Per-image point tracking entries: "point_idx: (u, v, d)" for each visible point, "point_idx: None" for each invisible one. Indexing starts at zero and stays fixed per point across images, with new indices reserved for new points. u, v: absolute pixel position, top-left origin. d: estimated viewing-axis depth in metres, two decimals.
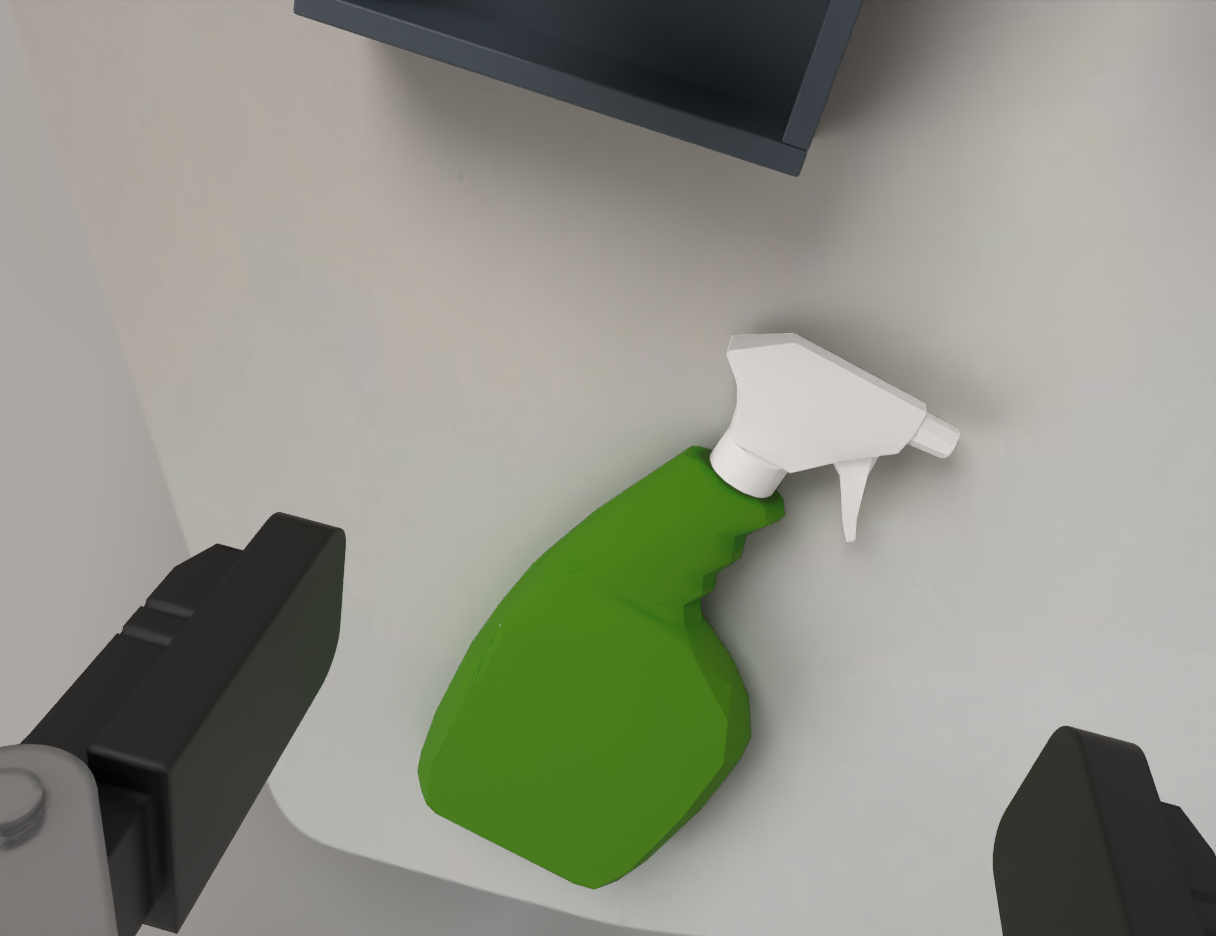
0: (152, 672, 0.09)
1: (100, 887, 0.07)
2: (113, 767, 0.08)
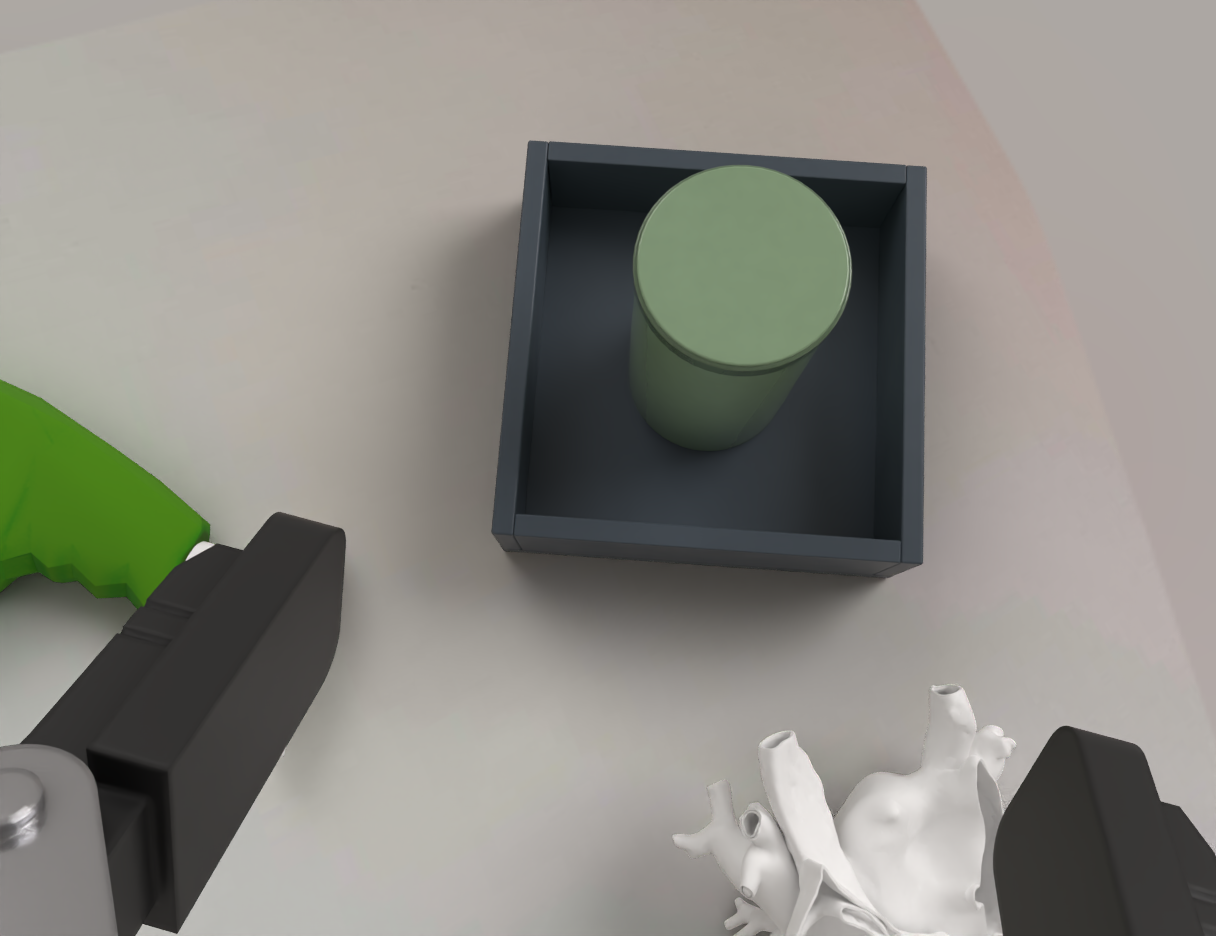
0: (152, 672, 0.09)
1: (100, 887, 0.07)
2: (113, 767, 0.08)
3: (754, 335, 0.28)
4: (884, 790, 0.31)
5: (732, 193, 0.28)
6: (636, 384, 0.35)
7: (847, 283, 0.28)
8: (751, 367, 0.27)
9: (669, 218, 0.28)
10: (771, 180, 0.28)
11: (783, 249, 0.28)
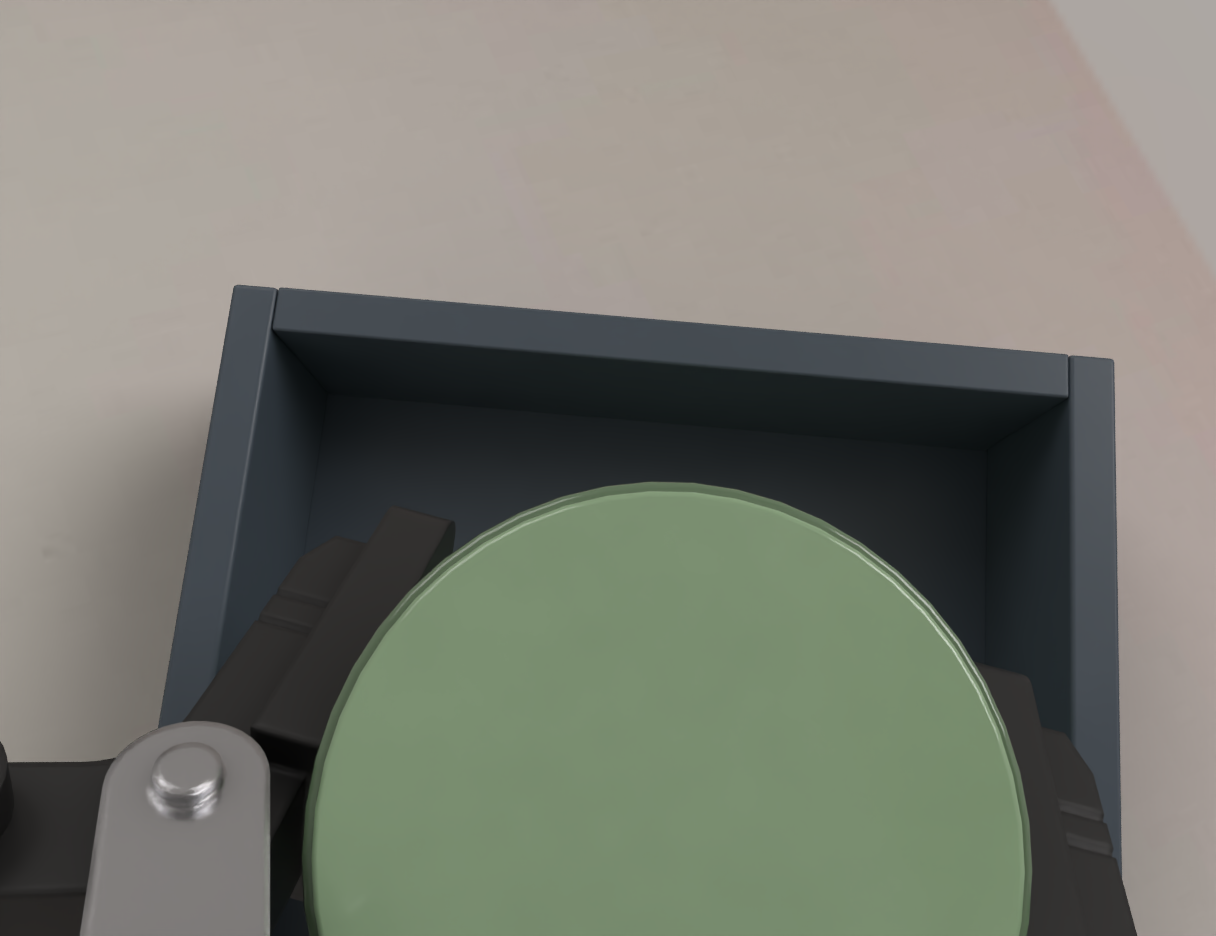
0: (300, 656, 0.10)
1: (260, 871, 0.08)
2: (274, 745, 0.09)
3: None
4: None
5: (643, 581, 0.09)
6: None
7: (1019, 917, 0.08)
8: None
9: (430, 672, 0.09)
10: (768, 536, 0.09)
11: (805, 790, 0.08)
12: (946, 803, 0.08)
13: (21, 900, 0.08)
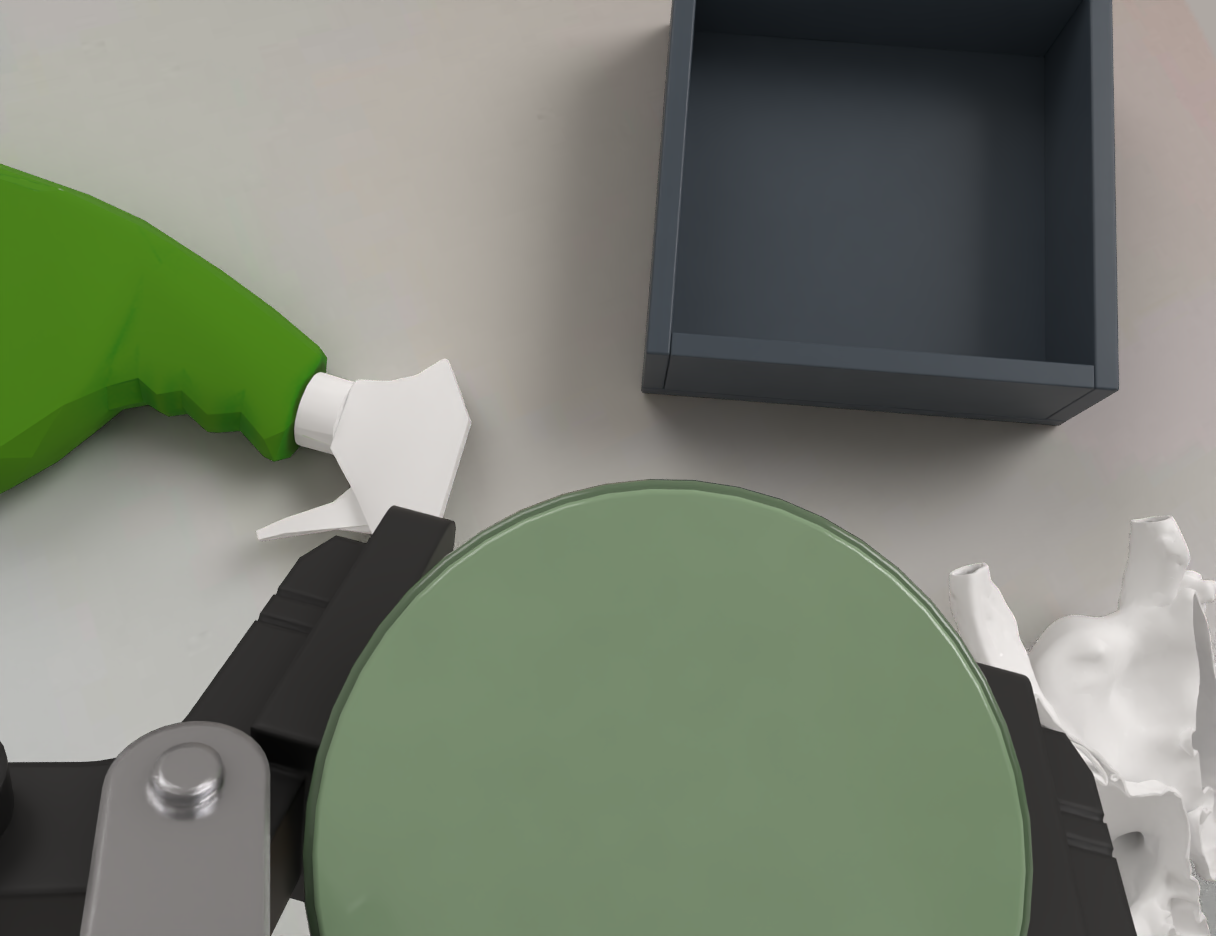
0: (300, 656, 0.10)
1: (260, 871, 0.08)
2: (274, 744, 0.09)
3: None
4: (1084, 629, 0.28)
5: (643, 579, 0.09)
6: None
7: (1020, 915, 0.08)
8: None
9: (431, 670, 0.09)
10: (769, 534, 0.09)
11: (806, 788, 0.08)
12: (947, 801, 0.08)
13: (21, 900, 0.08)
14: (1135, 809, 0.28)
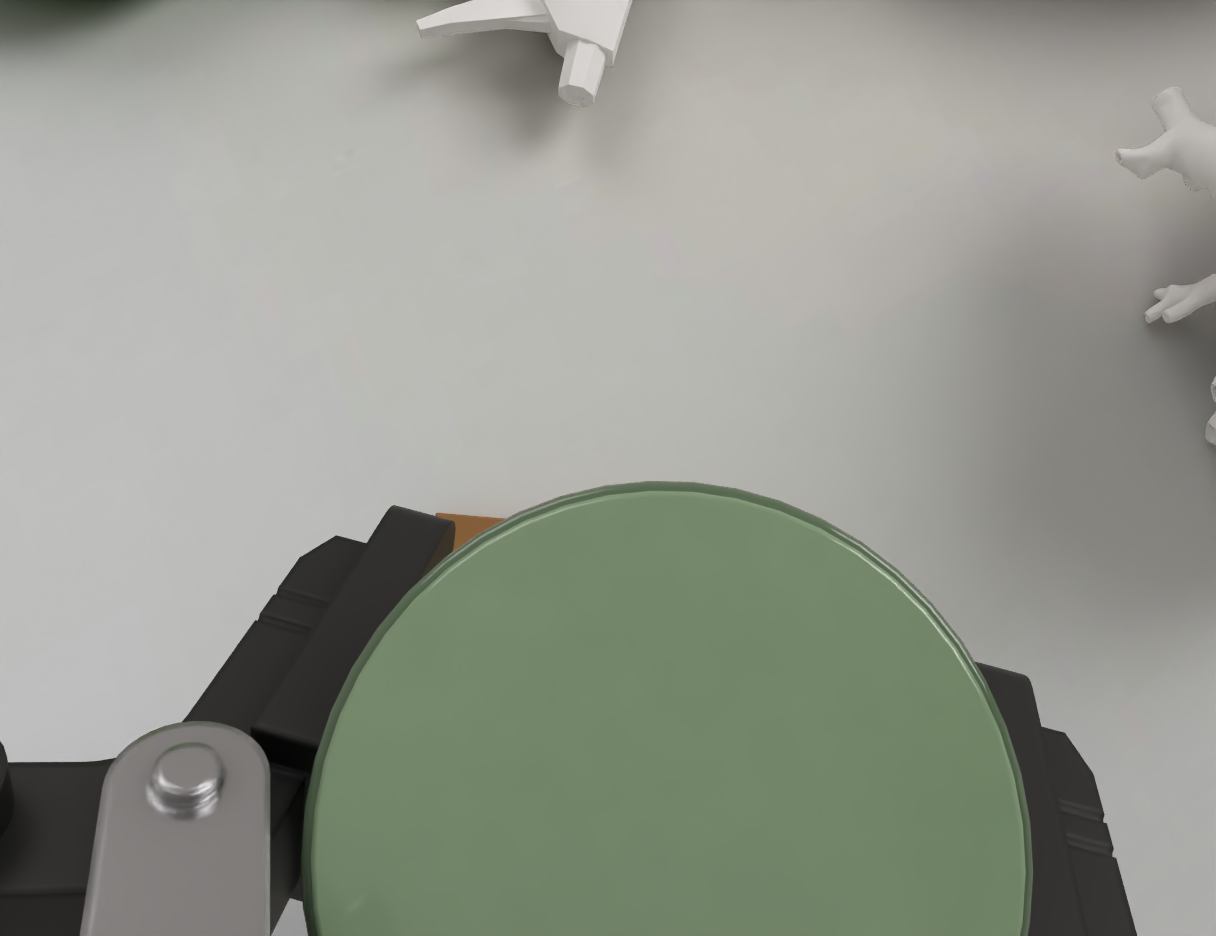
0: (300, 656, 0.10)
1: (260, 871, 0.08)
2: (274, 744, 0.09)
3: None
4: None
5: (643, 581, 0.09)
6: None
7: (1020, 918, 0.08)
8: None
9: (430, 672, 0.09)
10: (768, 536, 0.09)
11: (805, 791, 0.08)
12: (947, 803, 0.08)
13: (21, 900, 0.08)
14: None
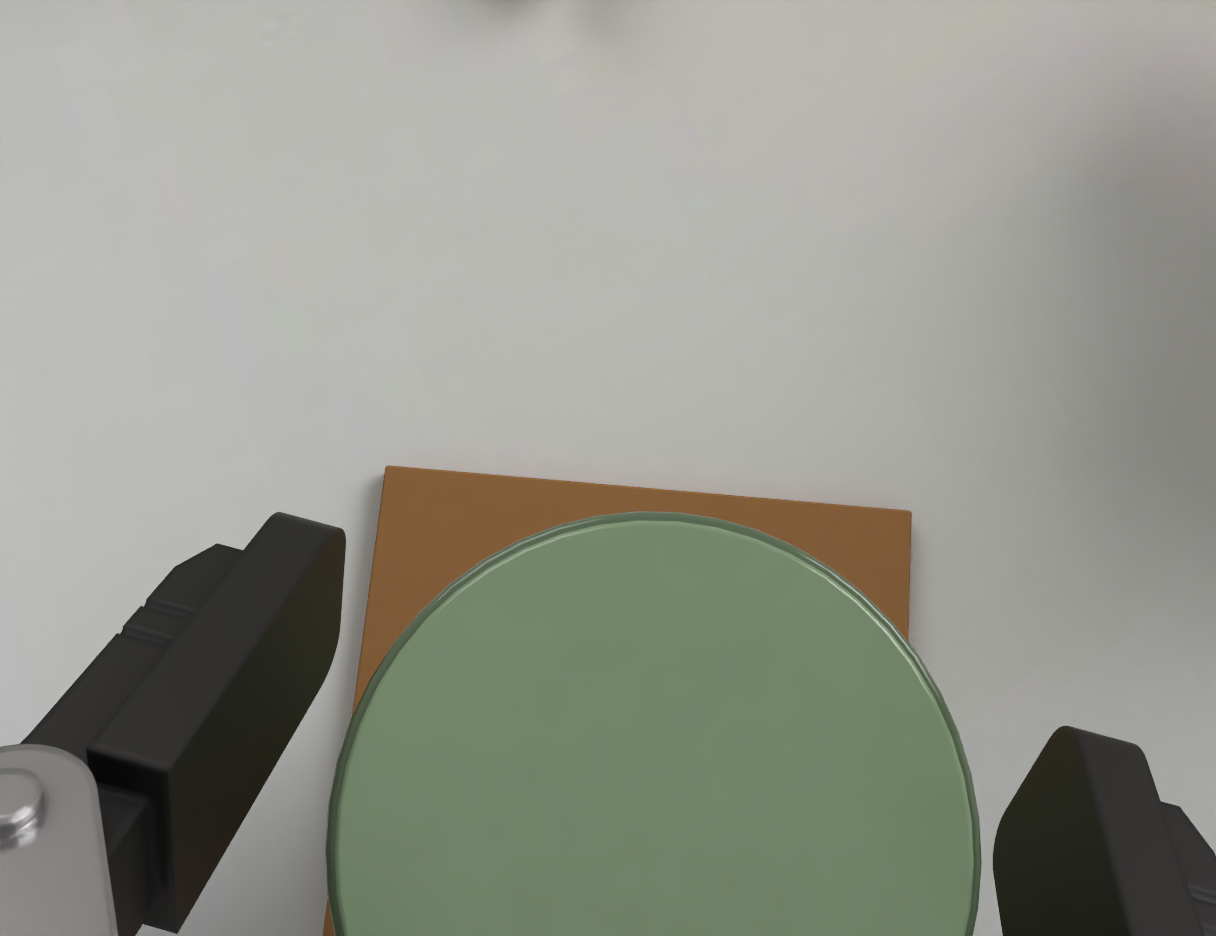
0: (152, 672, 0.09)
1: (99, 887, 0.07)
2: (113, 767, 0.08)
3: None
4: None
5: (631, 603, 0.10)
6: None
7: (969, 904, 0.09)
8: None
9: (441, 684, 0.09)
10: (744, 561, 0.10)
11: (777, 791, 0.09)
12: (903, 802, 0.09)
13: None
14: None
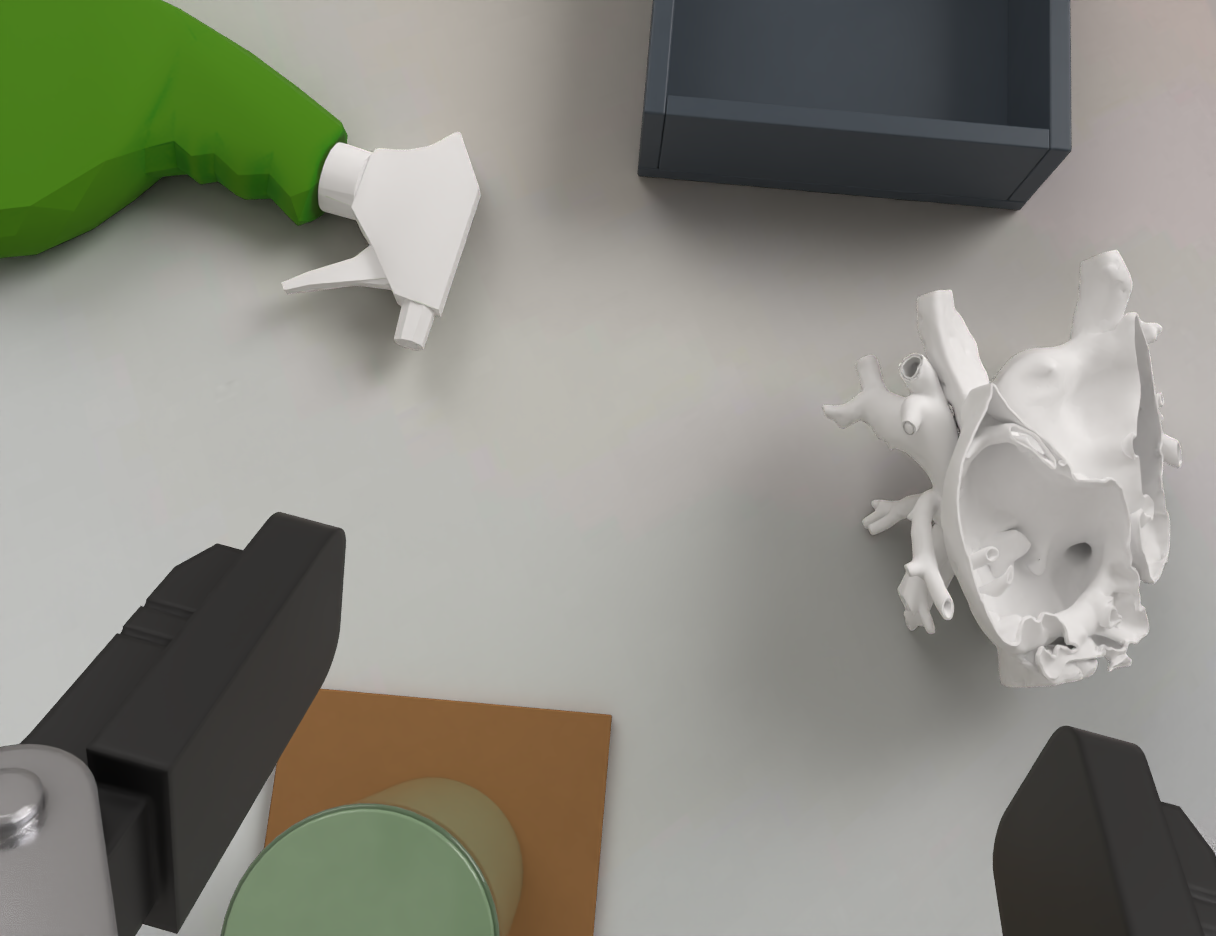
0: (152, 672, 0.09)
1: (100, 888, 0.07)
2: (113, 767, 0.08)
3: None
4: (1038, 352, 0.31)
5: (354, 846, 0.22)
6: None
7: None
8: None
9: (269, 884, 0.22)
10: (406, 827, 0.22)
11: (411, 931, 0.22)
12: None
13: None
14: (1082, 512, 0.31)
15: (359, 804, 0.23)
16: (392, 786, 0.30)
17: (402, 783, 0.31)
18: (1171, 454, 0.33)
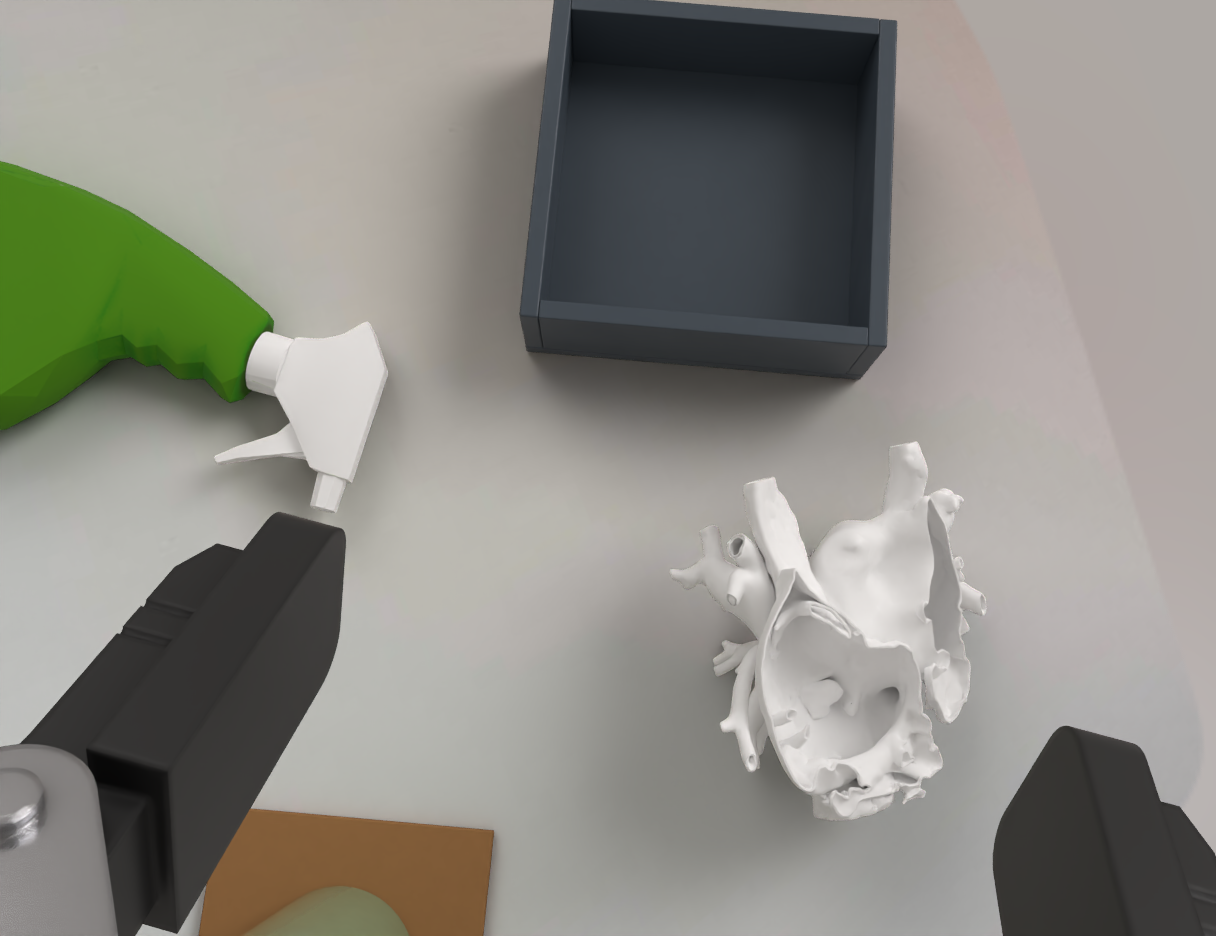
0: (152, 672, 0.09)
1: (100, 887, 0.07)
2: (113, 767, 0.08)
3: None
4: (849, 528, 0.37)
5: None
6: None
7: None
8: None
9: None
10: None
11: None
12: None
13: None
14: (885, 665, 0.36)
15: None
16: (300, 899, 0.36)
17: (310, 896, 0.36)
18: (975, 605, 0.39)
